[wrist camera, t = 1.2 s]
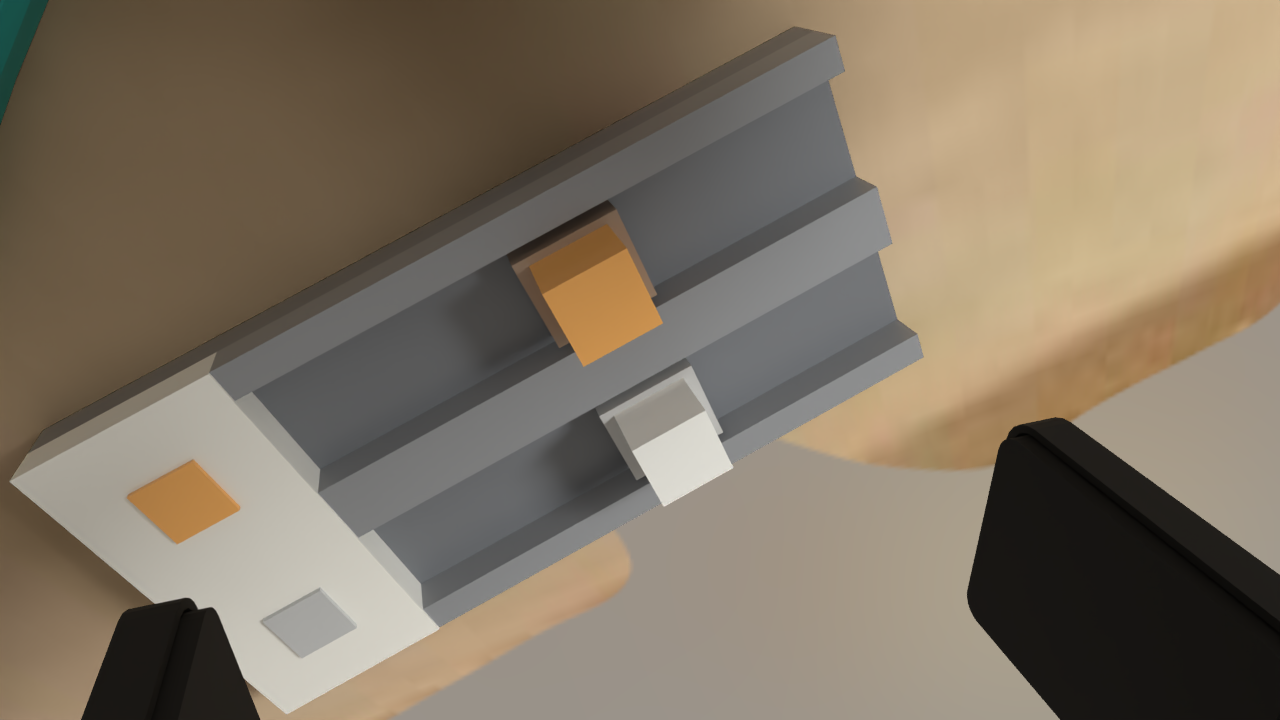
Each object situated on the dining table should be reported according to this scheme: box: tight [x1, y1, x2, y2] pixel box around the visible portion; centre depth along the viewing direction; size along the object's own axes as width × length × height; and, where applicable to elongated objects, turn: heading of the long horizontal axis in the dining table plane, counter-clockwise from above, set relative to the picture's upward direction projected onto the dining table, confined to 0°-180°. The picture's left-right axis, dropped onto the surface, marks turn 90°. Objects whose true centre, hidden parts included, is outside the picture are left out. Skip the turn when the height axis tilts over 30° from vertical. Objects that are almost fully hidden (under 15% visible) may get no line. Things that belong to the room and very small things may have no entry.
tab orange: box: [507, 200, 663, 367], centre depth 28 cm, size 4×4×4 cm
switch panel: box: [9, 27, 923, 714], centre depth 31 cm, size 30×14×3 cm, turn 115°
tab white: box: [595, 358, 733, 506], centre depth 31 cm, size 4×4×4 cm
